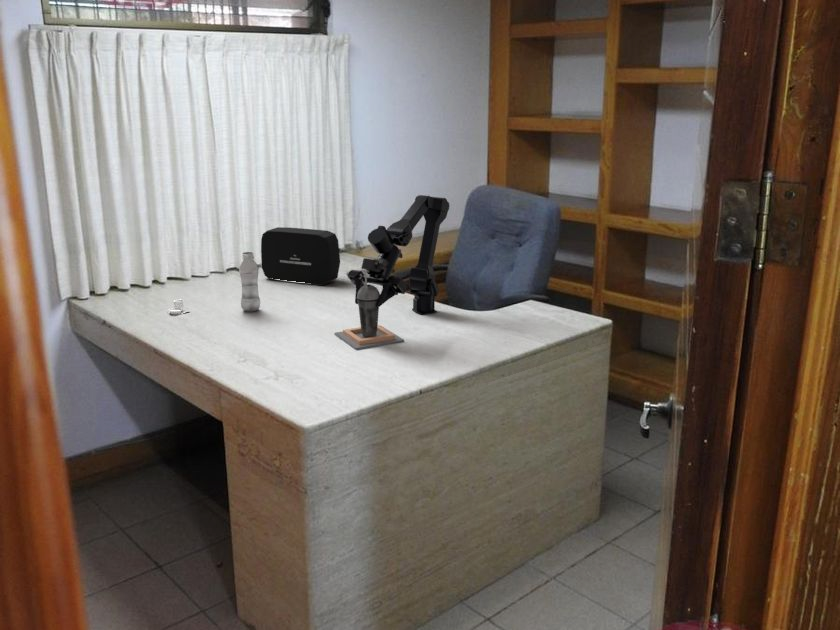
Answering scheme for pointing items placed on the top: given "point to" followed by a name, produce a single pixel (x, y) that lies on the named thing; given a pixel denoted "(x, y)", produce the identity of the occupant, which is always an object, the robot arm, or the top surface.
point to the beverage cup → (368, 309)
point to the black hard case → (300, 255)
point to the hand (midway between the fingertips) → (366, 305)
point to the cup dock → (368, 338)
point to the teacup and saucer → (177, 307)
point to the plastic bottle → (249, 283)
